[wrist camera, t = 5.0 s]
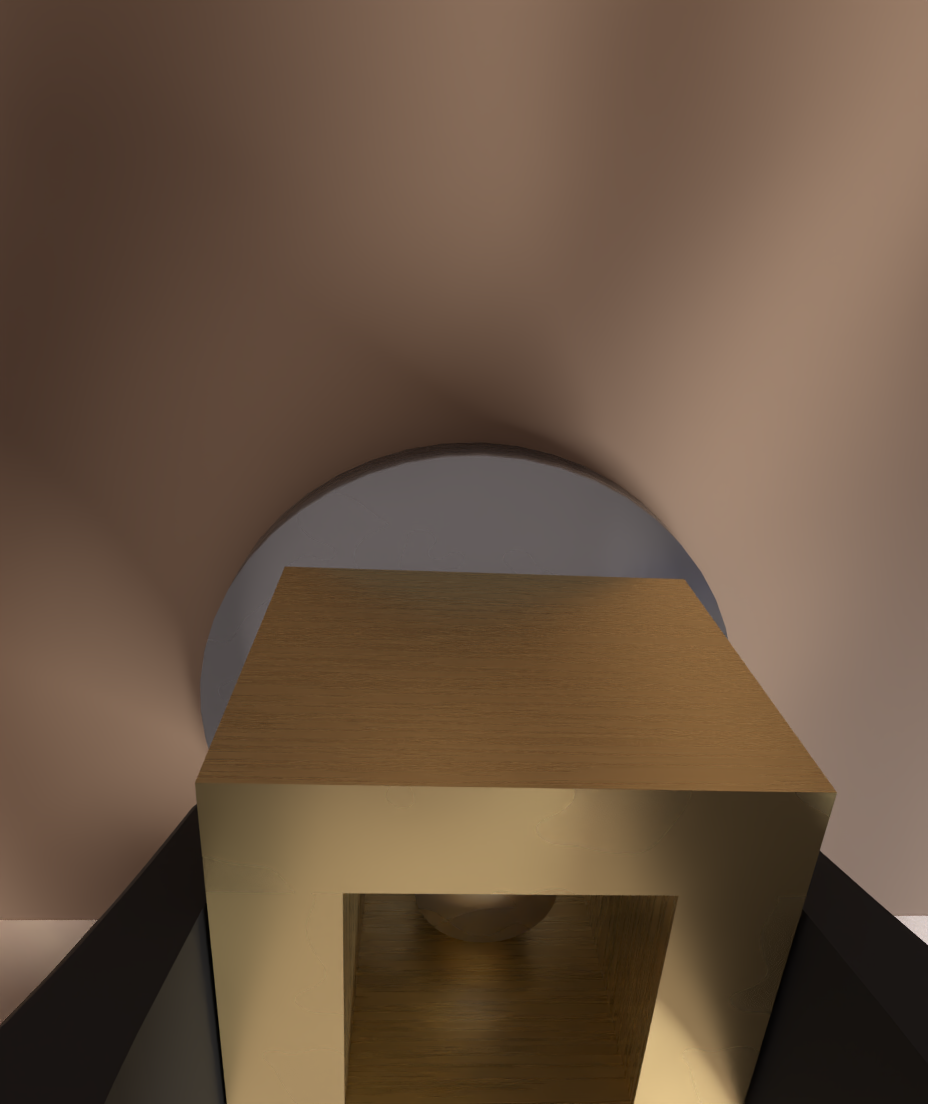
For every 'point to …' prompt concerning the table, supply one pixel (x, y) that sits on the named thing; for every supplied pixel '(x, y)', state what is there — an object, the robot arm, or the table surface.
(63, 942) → the table surface
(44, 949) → the table surface
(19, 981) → the table surface
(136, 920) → the robot arm
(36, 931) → the table surface
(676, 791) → the collar
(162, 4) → the board
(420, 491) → the stand
